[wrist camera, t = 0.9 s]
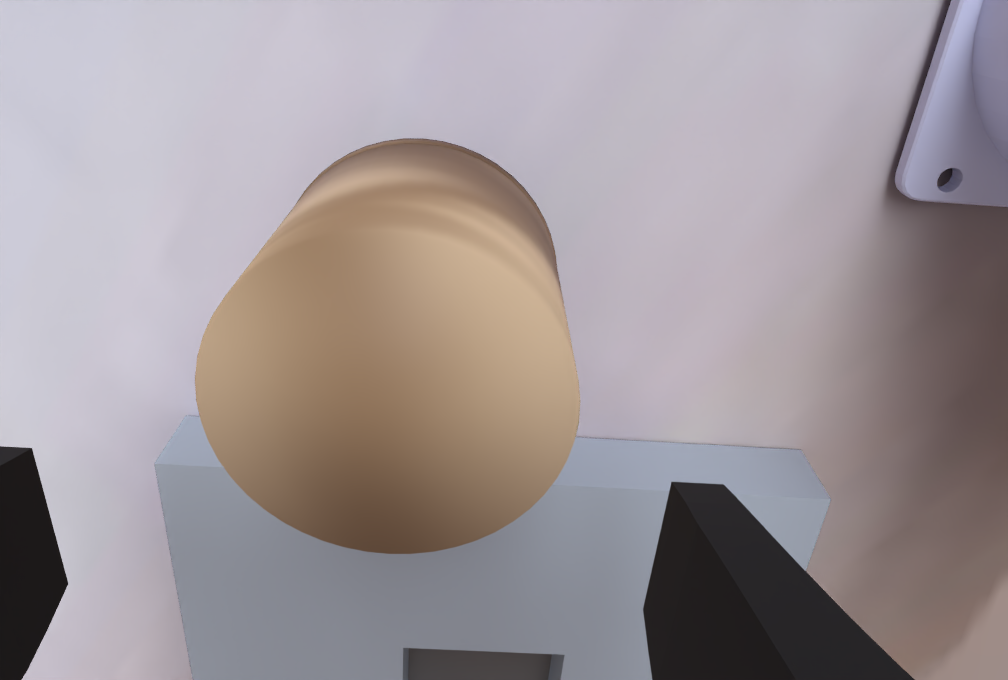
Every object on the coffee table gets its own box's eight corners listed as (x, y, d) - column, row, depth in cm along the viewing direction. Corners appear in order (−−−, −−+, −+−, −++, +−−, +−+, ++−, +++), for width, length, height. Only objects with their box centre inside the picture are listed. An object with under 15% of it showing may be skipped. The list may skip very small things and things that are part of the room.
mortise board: (801, 449, 20) (831, 499, 18) (687, 808, 27) (700, 867, 25) (186, 415, 19) (154, 463, 17) (242, 792, 26) (223, 853, 25)
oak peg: (564, 129, 16) (607, 243, 10) (538, 361, 18) (559, 562, 12) (295, 110, 16) (169, 214, 10) (308, 347, 18) (215, 546, 12)
